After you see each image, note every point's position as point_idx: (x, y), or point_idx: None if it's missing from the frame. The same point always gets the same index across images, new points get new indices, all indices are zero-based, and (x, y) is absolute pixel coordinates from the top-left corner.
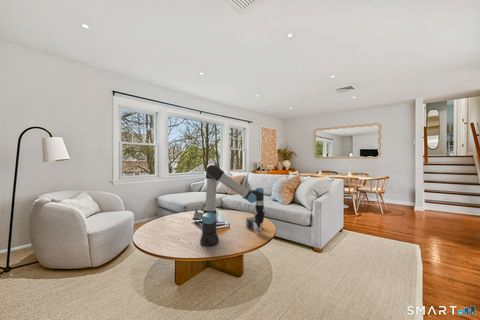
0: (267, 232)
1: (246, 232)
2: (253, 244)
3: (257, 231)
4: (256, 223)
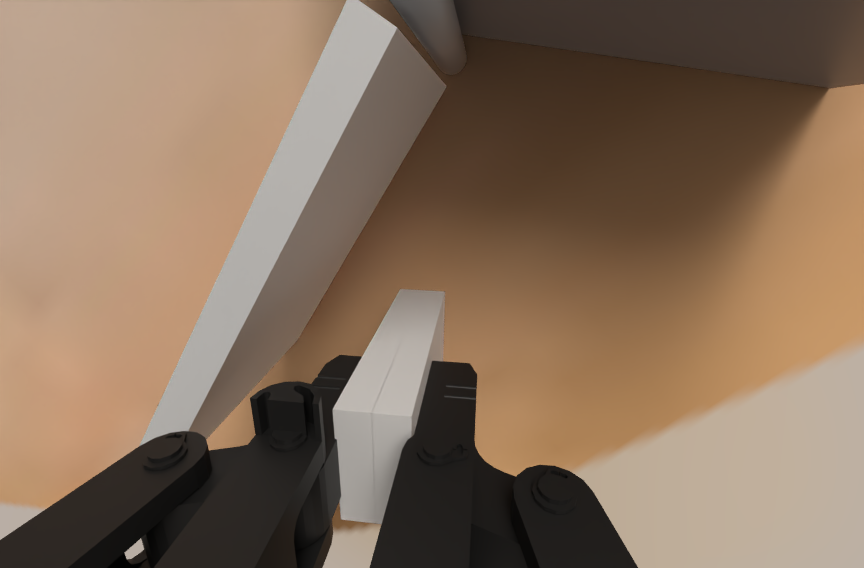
0: (569, 403)
1: (212, 20)
2: (30, 476)
3: (263, 376)
4: (673, 5)
